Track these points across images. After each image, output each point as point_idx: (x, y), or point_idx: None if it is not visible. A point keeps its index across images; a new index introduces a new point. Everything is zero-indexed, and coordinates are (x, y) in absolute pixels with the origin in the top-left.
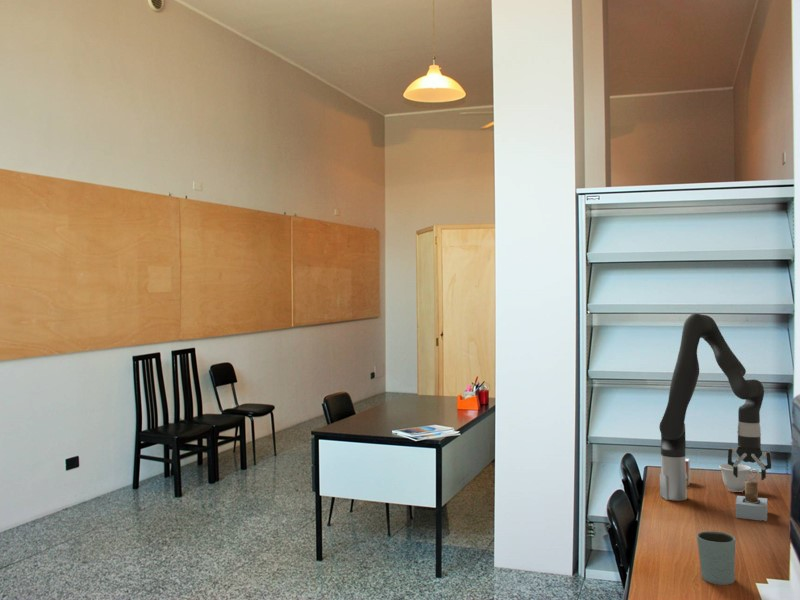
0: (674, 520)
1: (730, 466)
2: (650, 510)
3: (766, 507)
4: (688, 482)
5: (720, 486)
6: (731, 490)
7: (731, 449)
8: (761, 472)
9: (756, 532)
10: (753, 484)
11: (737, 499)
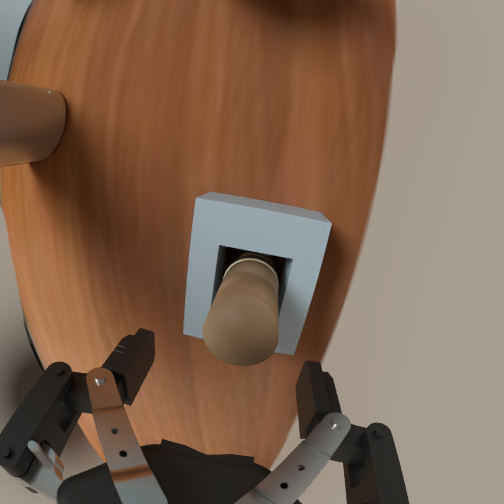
0: (71, 343)
1: None
2: (20, 273)
3: (293, 354)
4: None
5: None
6: None
7: (35, 491)
8: (299, 425)
9: (242, 407)
10: (250, 361)
11: (191, 270)
